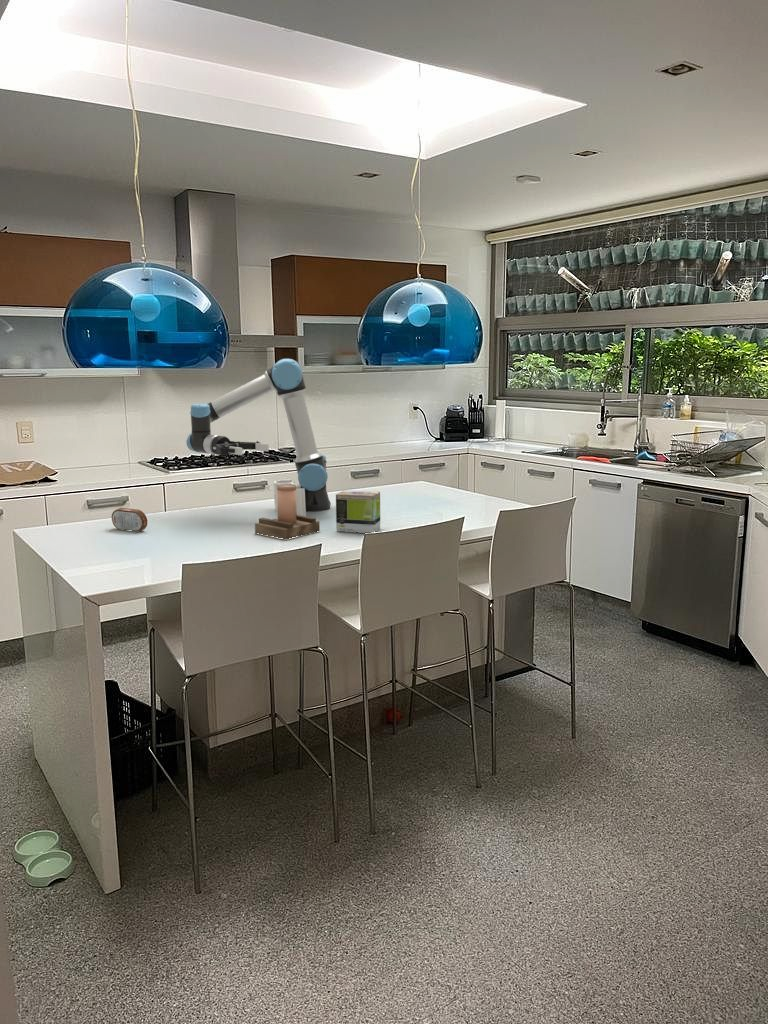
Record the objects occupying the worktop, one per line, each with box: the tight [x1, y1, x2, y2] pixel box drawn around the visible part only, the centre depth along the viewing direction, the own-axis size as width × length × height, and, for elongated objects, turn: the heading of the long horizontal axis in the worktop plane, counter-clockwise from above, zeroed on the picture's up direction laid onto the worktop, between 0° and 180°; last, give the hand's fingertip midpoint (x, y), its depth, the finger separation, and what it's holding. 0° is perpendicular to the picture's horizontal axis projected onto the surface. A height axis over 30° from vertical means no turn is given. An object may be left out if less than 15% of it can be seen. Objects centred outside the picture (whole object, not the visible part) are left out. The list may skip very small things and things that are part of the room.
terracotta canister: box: [277, 484, 297, 524], centre depth 298 cm, size 7×7×14 cm
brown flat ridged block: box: [254, 515, 321, 539], centre depth 300 cm, size 18×16×6 cm
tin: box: [111, 507, 148, 532], centre depth 302 cm, size 15×3×8 cm, turn 68°
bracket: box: [273, 479, 307, 517], centre depth 333 cm, size 25×10×12 cm, turn 19°
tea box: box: [335, 489, 381, 534], centre depth 304 cm, size 15×10×15 cm, turn 74°
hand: (255, 449), depth 304 cm, fingers open, 13 cm apart
